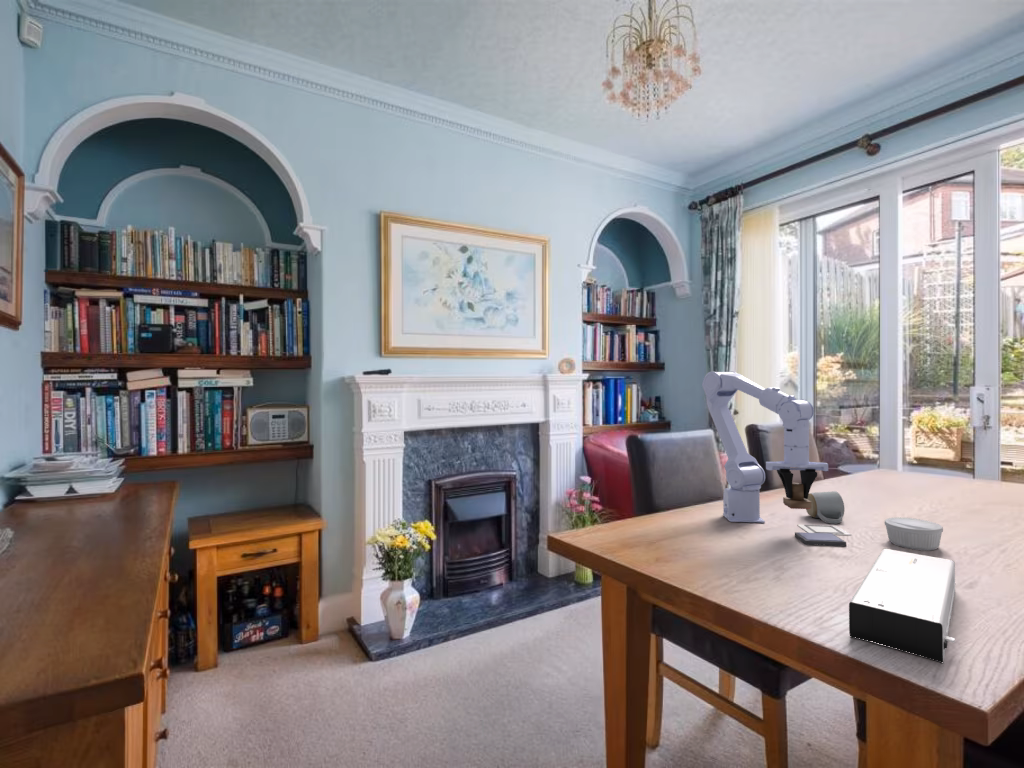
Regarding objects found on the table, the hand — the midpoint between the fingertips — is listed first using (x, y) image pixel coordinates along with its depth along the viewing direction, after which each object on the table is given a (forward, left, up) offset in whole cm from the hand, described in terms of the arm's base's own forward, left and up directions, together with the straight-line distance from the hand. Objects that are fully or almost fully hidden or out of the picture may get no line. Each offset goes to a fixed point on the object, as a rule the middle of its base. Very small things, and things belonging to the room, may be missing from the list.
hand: (796, 497), depth 134 cm
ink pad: (+3, -6, -9) cm, 11 cm away
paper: (+8, +4, -9) cm, 13 cm away
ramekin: (+24, -6, -10) cm, 27 cm away
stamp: (0, 0, -2) cm, 2 cm away
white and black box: (+1, -46, -10) cm, 47 cm away
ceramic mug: (+14, +16, -10) cm, 23 cm away
